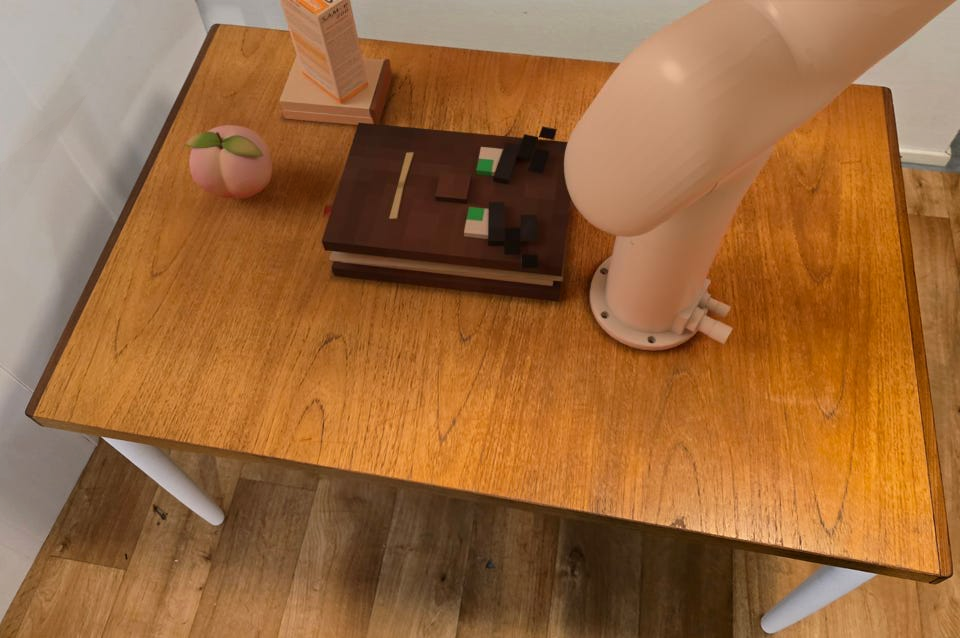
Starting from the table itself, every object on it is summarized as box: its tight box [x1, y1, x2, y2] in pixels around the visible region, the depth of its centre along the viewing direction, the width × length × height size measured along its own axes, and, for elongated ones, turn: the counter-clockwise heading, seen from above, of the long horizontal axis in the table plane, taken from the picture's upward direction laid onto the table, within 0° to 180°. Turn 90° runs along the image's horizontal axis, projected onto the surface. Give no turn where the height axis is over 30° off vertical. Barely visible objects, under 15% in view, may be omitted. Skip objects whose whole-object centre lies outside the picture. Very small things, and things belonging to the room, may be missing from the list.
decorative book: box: [321, 123, 579, 302], centre depth 83 cm, size 19×8×30 cm
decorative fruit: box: [185, 124, 273, 199], centre depth 86 cm, size 9×8×10 cm
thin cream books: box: [278, 55, 393, 126], centre depth 96 cm, size 12×9×3 cm
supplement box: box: [279, 0, 368, 104], centre depth 89 cm, size 8×5×13 cm, turn 45°
